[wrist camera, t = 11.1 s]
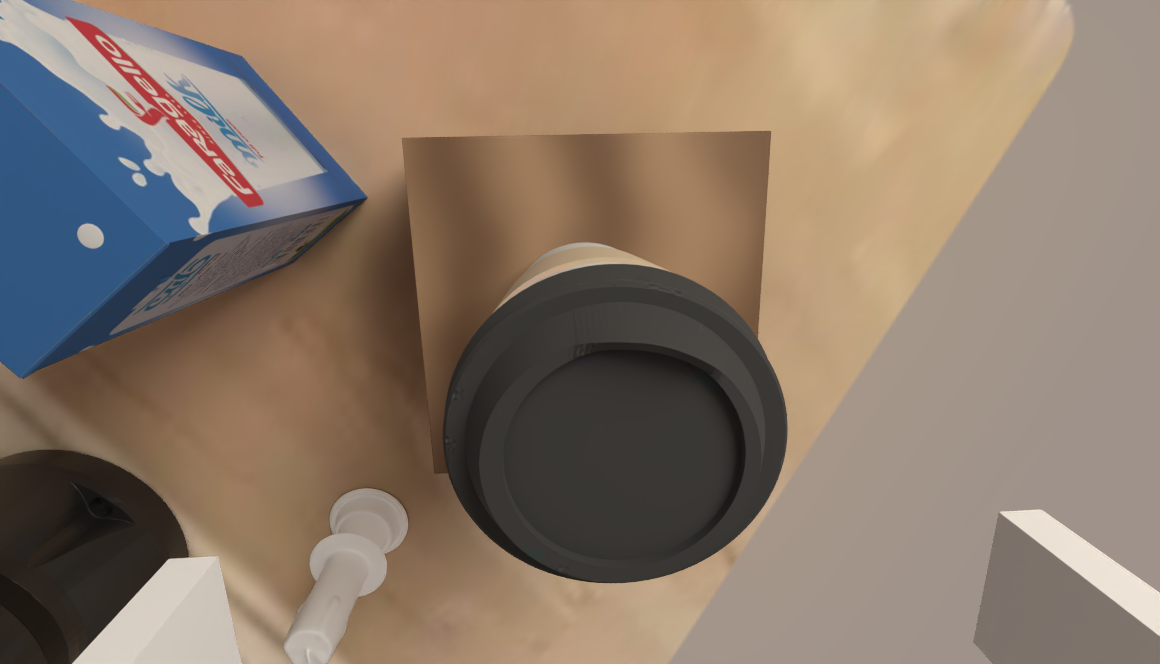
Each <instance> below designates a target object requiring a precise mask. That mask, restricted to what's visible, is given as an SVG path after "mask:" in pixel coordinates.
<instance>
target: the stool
mask: <svg viewBox="0 0 1160 664" xmlns="http://www.w3.org/2000/svg"><path fill="white" fill-rule="evenodd" d="M770 140H771V131H742V132H689V133H636V134H583V135H530V136H478V137H425V138H402V145H403V155H404V166H405V176H406V186H407V196H408V207H409V217H410V227H411V237H412V248H413V258H414V268H415V278H416V289H417V299H418V309H419V319H420V330H421V340H422V350H423V360H424V371H425V381H426V391H427V401H428V412H429V422H430V432H431V442H432V453H433V463H434V473H435V474H438V473H448V471H447V467H446V462H445V457H444V449H443V422H444V414H445V404H446V398H447V393H448V389H449V385H450V381H451V378H452V375H453V373H454V370H455V368H456V365H457V363H458V361H459V359H460V357H461V355H462V353H463V351H464V350H465V348H466V346H467V344H468V343H469V341H470V340H471V338H472V337H473V336H474V334H475V333H476V332H477V330H478V329H479V328H480V327H481V325H482V324H483V323H484V322H485V321H486V320H487V319H488V318H489V317H490V316H491V315H492V313H493V312H494V310H495V309H496V308H497V306H498V305H499V303H500V302H501V301H502V299H503V298H504V296H505V295H506V294H507V292H508V291H509V289H510V288H511V287H512V285H513V284H514V283H515V281H516V280H517V279H518V278H519V277H520V276H521V275H522V274H523V273H524V272H525V271H526V270H527V269H528V268H529V267H530V266H531V265H532V264H533V263H534V262H535V261H536V260H537V259H538V258H540V257H541V256H542V255H544V254H546V253H547V252H549V251H551V250H553V249H555V248H558V247H561V246H564V245H568V244H573V243H597V244H602V245H606V246H610V247H612V248H615V249H617V250H621V251H624V252H627V253H630V254H632V255H634V256H637V257H639V258H641V259H643V260H646V261H648V262H650V263H653V264H655V265H657V266H660V267H662V268H664V269H666V270H669V271H671V272H673V273H675V274H678V275H681V276H683V277H686V278H688V279H690V280H692V281H694V282H696V283H698V284H700V285H702V286H704V287H706V288H707V289H709V290H710V291H712V292H713V293H715V294H716V295H718V296H719V297H720V298H722V299H723V300H724V301H725V302H727V303H728V304H729V305H730V306H731V307H732V308H733V309H734V310H735V311H736V312H737V313H738V314H739V315H740V316H741V317H742V318H743V319H744V321H745V322H746V323H747V324H748V326H749V327H750V328H751V330H752V331H753V332H754V334H755V335H756V337H757V339H758V324H759V309H760V293H761V278H762V263H763V247H764V232H765V217H766V202H767V186H768V171H769V156H770Z"/></svg>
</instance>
